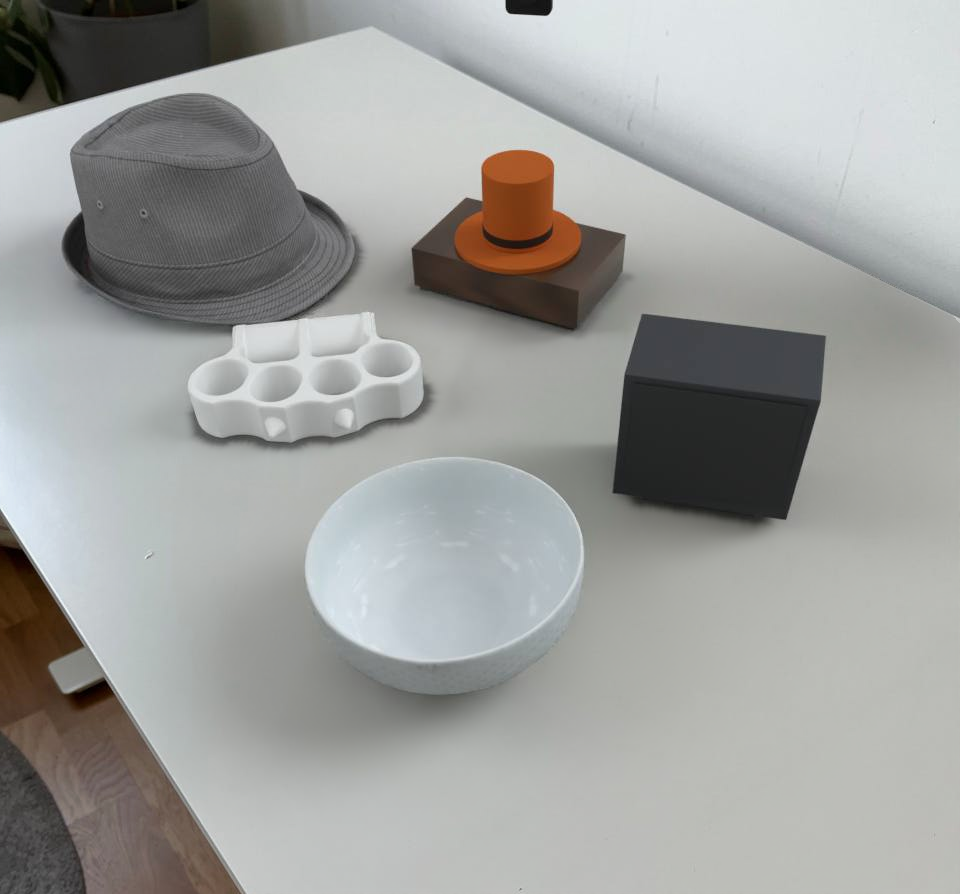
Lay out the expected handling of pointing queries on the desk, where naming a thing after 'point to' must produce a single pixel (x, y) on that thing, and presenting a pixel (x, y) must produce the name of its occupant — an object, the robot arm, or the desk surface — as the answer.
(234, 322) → the fedora
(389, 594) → the cereal bowl
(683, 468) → the dark grey cabinet box
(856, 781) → the desk surface
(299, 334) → the white brass knuckles
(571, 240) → the top hat
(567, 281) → the brown wooden block
